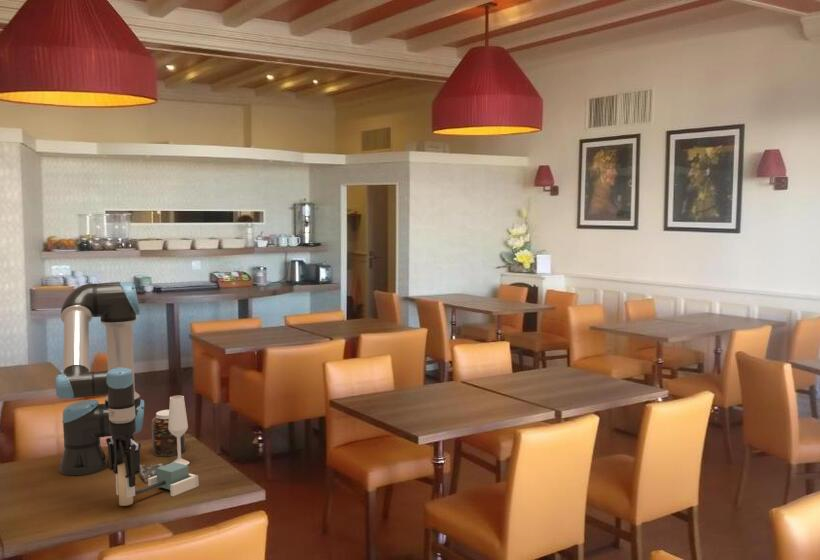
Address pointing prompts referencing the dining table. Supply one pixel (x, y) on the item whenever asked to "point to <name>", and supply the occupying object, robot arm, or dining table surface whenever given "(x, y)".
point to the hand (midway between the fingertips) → (125, 494)
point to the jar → (164, 436)
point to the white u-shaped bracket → (179, 484)
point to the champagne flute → (178, 423)
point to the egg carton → (149, 471)
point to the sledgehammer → (164, 479)
